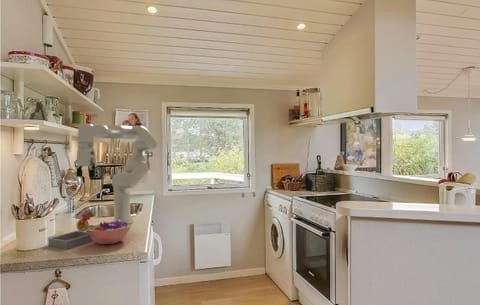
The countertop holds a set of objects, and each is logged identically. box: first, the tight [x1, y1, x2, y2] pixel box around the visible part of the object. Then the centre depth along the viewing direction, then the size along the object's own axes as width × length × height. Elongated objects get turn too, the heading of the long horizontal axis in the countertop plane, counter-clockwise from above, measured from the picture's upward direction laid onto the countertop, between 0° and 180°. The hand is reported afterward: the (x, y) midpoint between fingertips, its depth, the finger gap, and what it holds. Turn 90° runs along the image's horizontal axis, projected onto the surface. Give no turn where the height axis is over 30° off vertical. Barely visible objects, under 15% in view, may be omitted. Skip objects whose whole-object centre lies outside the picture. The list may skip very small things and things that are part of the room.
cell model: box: [88, 219, 132, 245], centre depth 146 cm, size 17×20×11 cm
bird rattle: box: [76, 213, 94, 232], centre depth 166 cm, size 6×11×9 cm
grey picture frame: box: [47, 230, 94, 250], centre depth 147 cm, size 15×13×4 cm
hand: (85, 176), depth 164 cm, fingers open, 9 cm apart
